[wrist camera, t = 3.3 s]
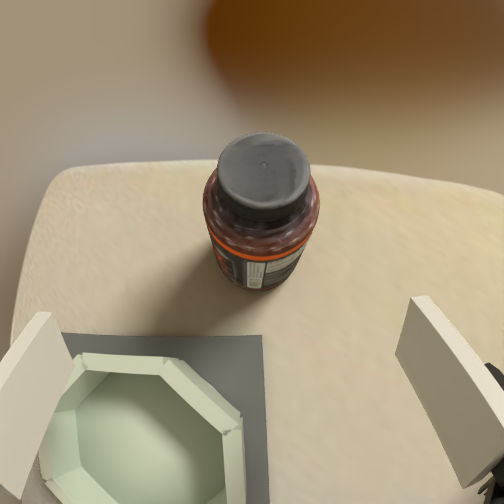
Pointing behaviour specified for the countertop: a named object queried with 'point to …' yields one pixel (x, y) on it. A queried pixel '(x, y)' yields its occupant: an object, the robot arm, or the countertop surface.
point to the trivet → (214, 372)
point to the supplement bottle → (260, 209)
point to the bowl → (142, 436)
